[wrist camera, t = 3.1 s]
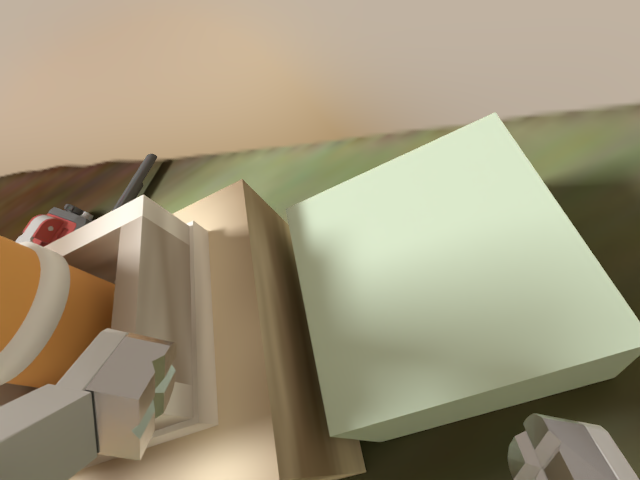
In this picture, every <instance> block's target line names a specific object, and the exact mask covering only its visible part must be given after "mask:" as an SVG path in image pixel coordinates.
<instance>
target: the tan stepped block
mask: <svg viewBox="0 0 640 480" xmlns="http://www.w3.org/2000/svg"><path fill="white" fill-rule="evenodd" d="M45 248H47V249H49V250H52V251H54V252H56V253H58V254H60V255H62V256H63V257H64V258H65V260H66V261H67V263H68V265H71V266H73V267H75V268H78V269H80V270H82V271H85V272H87V273H89V274H92V275H94V276H97V277H99V278H101V279H104V280H106V281H108V282H111V283H113V284H115V291H114V302H113V312H112V322H111V329H114V330H119V331H123V332H128V333H134V334H139V335H143V336H148V337H152V338H157V339H161V340H165V341H170V342H174V343H175V344H176V357H175V359H174V361H173V363H172V366H173V367H174V368H175V370H176V376H175V383H174V388H173V391H172V394H171V397H170V400H169V403H168V405H167V407H166V409H165V411H164V413H163V414H162V415H160V416H159V417H157V418H155V432H154V434H153V436H152V438H151V440H150V442H149V444H148V446H147V448H146V450H145V452H144V454H143V456H142V458H141V460H140V461H138V460H132V459H126V458H119V457H113V456H106V455H100V454H97V458H95V459H94V460H93V461H91V462H90V463H89V464H88V465H86V466H85V467H84V468H82V469H81V470H80V471H79V472H77V473H76V474H75V475H73V476H72V477H71V478H70V479H68V480H338V479H342V478H346V477H350V476H353V475H357V474H361V473H365V472H366V468H365V463H364V459H363V455H362V450H361V446H360V442H359V440H355V439H346V438H337V437H330V435H329V430H328V425H327V419H326V414H325V409H324V404H323V399H322V394H321V389H320V383H319V378H318V373H317V368H316V363H315V358H314V353H313V347H312V342H311V337H310V332H309V327H308V322H307V317H306V311H305V306H304V301H303V296H302V291H301V286H300V281H299V276H298V270H297V265H296V260H295V255H294V250H293V245H292V240H291V234H290V229H289V225H288V224H287V223H286V222H285V221H284V220H283V219H282V218H281V217H280V216H279V215H278V214H277V213H276V212H275V211H274V210H273V209H272V208H271V207H270V206H269V205H268V204H267V203H266V202H265V201H264V200H263V199H262V198H261V197H260V196H259V195H258V194H257V193H256V192H255V191H254V190H253V189H252V188H251V187H250V186H249V185H248V184H247V183H246V182H245V181H244V180H243V179H241V180H239V181H237V182H235V183H233V184H231V185H229V186H227V187H225V188H223V189H221V190H219V191H217V192H215V193H213V194H211V195H209V196H207V197H205V198H203V199H201V200H199V201H197V202H195V203H193V204H191V205H189V206H187V207H185V208H183V209H181V210H179V211H177V212H175V213H173V214H171V213H170V212H168V211H167V210H165V209H164V208H163V207H161V206H160V205H158V204H157V203H155V202H154V201H152V200H151V199H150V198H148V197H147V196H145V195H142V196H140V197H138V198H136V199H134V200H132V201H130V202H128V203H126V204H124V205H123V206H121V207H119V208H117V209H115V210H113V211H111V212H109V213H107V214H105V215H104V216H102V217H100V218H98V219H96V220H94V221H92V222H90V223H88V224H86V225H85V226H83V227H81V228H79V229H77V230H75V231H73V232H71V233H69V234H67V235H66V236H64V237H62V238H60V239H58V240H56V241H54V242H52V243H50V244H48V245H47V246H45ZM36 389H38V388H36V387H29V386H23V385H16V384H9V383H4V384H3V385H0V406H3V405H5V404H7V403H9V402H11V401H13V400H15V399H17V398H19V397H21V396H23V395H26V394H28V393H30V392H32V391H34V390H36Z"/></svg>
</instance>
